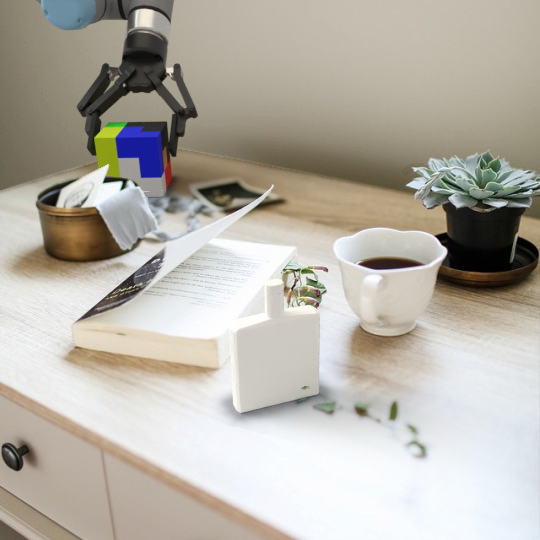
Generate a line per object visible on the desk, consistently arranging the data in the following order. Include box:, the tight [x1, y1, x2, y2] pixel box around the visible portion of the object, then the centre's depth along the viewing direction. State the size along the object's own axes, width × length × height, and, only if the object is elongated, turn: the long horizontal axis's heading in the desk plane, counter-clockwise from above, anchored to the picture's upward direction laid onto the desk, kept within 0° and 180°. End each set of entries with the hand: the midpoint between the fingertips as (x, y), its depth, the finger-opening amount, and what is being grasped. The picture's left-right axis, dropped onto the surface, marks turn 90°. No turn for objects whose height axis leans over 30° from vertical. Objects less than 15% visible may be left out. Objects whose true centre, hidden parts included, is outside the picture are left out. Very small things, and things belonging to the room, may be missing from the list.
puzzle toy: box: [94, 120, 173, 198], centre depth 112 cm, size 10×10×10 cm
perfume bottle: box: [228, 278, 321, 414], centre depth 59 cm, size 8×2×12 cm, turn 110°
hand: (131, 152), depth 110 cm, fingers open, 13 cm apart
